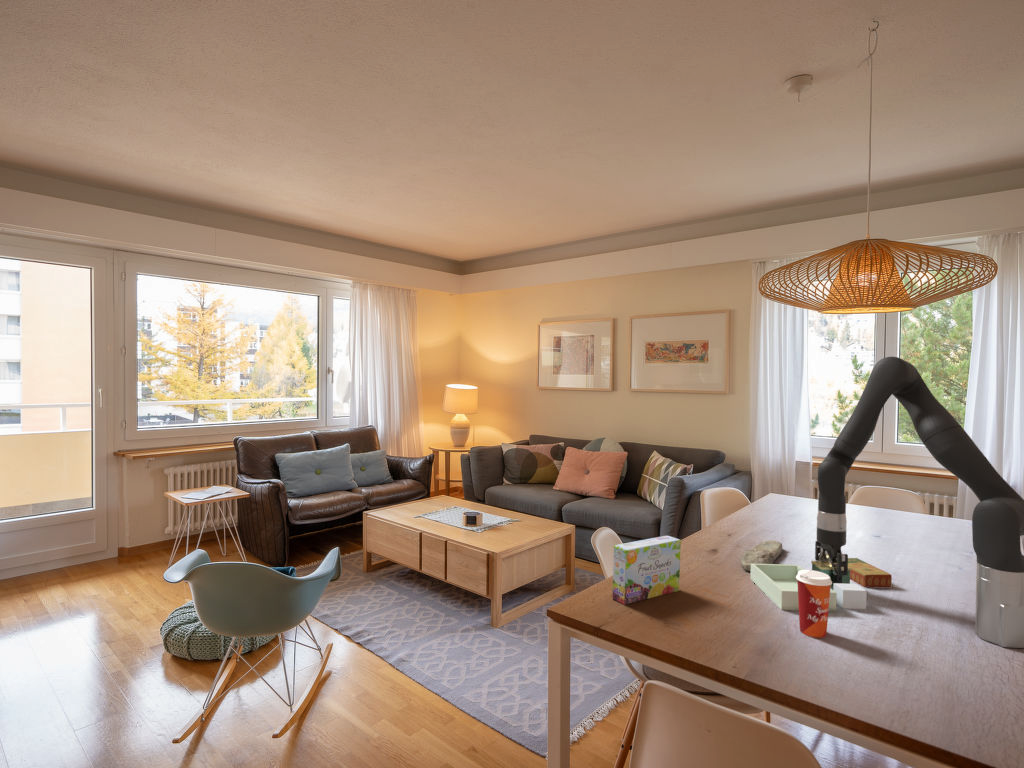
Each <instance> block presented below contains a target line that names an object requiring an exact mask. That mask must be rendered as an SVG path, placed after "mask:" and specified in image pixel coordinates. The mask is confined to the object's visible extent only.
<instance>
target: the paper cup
mask: <svg viewBox="0 0 1024 768" xmlns="http://www.w3.org/2000/svg"><path fill="white" fill-rule="evenodd" d="M796 579H797V583H798V605H799V610H798V619H799V624H798V625H799V631H800V633H802V634H803V635H805V636H808V637H811V638H817V639H823V638H826V637H827V633H828V632H827V631H828V623H829V620H828V619H829V599H830V587H831V584H832V581H831V579H830V577H829V575H827V574H825V573H822V572H819V571H814V570H812V569H805V570H800V571H799V572H798V575H797V576H796Z"/></svg>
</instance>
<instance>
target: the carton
mask: <svg viewBox="0 0 1024 768" xmlns="http://www.w3.org/2000/svg"><path fill="white" fill-rule="evenodd" d="M848 567H850V568H851V570H850V581H853V582H854V583H855V584H857V585H858V586H860V587H862V588H865V587H891V588H892V581H893V580H892V574H891V573H889V572H886V571H885V570H883V569H881V568H879V567H876V566H875V565H872V564H870V563H868V562H866V561H864V560H862V559H860V558H858V557H848Z"/></svg>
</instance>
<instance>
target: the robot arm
mask: <svg viewBox="0 0 1024 768" xmlns="http://www.w3.org/2000/svg"><path fill="white" fill-rule="evenodd" d="M891 396H894V398H896V399H897V401H898V402H899V403H900V404H901V406H902V407H904V409H905V410H906V412H907V414H908V415H909V416H910V420H911V421H912V424H913V427H914V429H915V431H916V434H917V436H918V437H919V439H920V441H921V442H922V443H923V445H924V447H925V448H926V449H927V451H928V452H929V454H931V456H932V457H933V458H934V460H936V461H937V462H938V463H939V464H940V465H941V466H942V467H943V468H945V469H946V470H947V471H949V472H950V473H951V474H952V475H954V476H955V477H956V478H958V479H959V480H960V481H962V482H963V483H964V484H965V485H966V486H967V487H968V488H969V489H970V490H971V491H972V492H973V493H974V494H975V496H976V497H977V499H978V500H979V502H978V503H977V504H976V505H975V507H974V509H973V512H972V516H971V528H972V529H971V532H972V534H971V535H972V546H973V547H972V548H973V551H974V553H975V555H976V569H975V570H976V572H975V574H976V576H975V577H976V578H975V585H976V586H975V625H974V626H975V627H974V629H975V631H974V632H975V635H976V636H978V638H980V639H982V640H984V641H986V642H989V643H992V644H995V645H998V646H1000V647H1002V648H1016V649H1017V648H1018V649H1019V648H1021V649H1024V555H1023V554H1022V549H1021V548H1022V547H1021V537H1022V536H1024V498H1023V497H1022V496H1020V494H1019V493H1018V492H1017V491H1016V490H1015V489H1014V488H1013V487H1012V486H1011V485H1010V484H1009V483H1008V482H1007V481H1006V480H1005V479H1004V478H1003V477H1002V475H1000V473H999V472H998V471H997V470H996V469H995V467H994V466H993V465H992V463H991V462H990V461H989V459H988V458H987V457H986V455H985V454H984V453H983V452H982V450H980V448H979V447H978V445H977V444H976V443H975V441H974V440H973V439H972V437H971V436H970V435H969V434H968V433H967V431H966V430H965V429H964V428H963V426H962V425H961V424H960V423H959V422H958V421H957V420H956V419H955V417H954V416H953V415H952V413H950V412H949V411H948V410H947V408H945V407H944V406H943V405H942V403H940V402H939V400H938V399H937V398H936V397H935V396H934V394H933V393H932V391H931V390H930V388H929V387H928V385H927V384H926V382H925V380H924V379H923V377H922V376H921V374H920V372H919V370H918V369H917V367H916V366H914V365H913V363H910V362H909V361H907V360H905V359H903V358H900V357H897V356H886V357H883V358H881V359H880V360H878V361H877V362H876V363H875V365H874V366H873V368H872V369H871V373H870V375H869V376H868V380H867V381H866V384H865V386H864V389H863V392H862V394H861V396H860V398H859V400H858V402H857V403H856V405H855V408H854V410H853V412H852V414H851V415H850V417H849V419H848V420H847V422H846V423H845V425H844V426H843V428H842V430H841V431H840V433H839V435H838V436H837V438H836V439H835V441H834V443H833V446H832V448H831V449H830V450H829V452H828V454H826V456H825V457H824V459H823V460H822V462H821V463H820V464H819V465H818V468H817V484H818V485H817V486H818V496H817V497H818V502H817V503H818V504H817V515H816V540H815V542H814V543H815V544H814V545H815V546H814V547H815V549H814V552H815V553H814V558H815V559H814V561H828V562H829V566H830V567H831V568H832V570H833V574H834V575H833V583H842V576H843V575H848V558H849V556H848V554H847V553H843V552H842V547H844V546H846V545H847V521H848V520H847V513H846V512H847V511H846V510H847V509H846V508H847V499H846V495H845V489H846V488H845V487H846V486H845V485H846V476H847V475H848V473H849V471H850V469H851V468H852V466H853V464H854V462H855V461H856V459H857V457H859V455H860V454H861V453H862V452H863V450H864V449H865V447H866V446H867V444H868V443H869V441H870V439H871V438H872V436H873V434H874V432H875V430H876V427H877V423H878V420H879V417H880V416H881V412H882V410H883V408H884V406H885V405H886V403H887V401H889V399H890V397H891ZM835 563H837V564H835ZM836 567H837V571H836ZM843 567H844V571H843Z"/></svg>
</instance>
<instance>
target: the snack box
mask: <svg viewBox="0 0 1024 768" xmlns="http://www.w3.org/2000/svg"><path fill="white" fill-rule="evenodd" d="M681 544H682V540H681V539H679V538H677V537H674V536H670V535H663V536H662V535H661V536H657V537H651V538H646V539H640V540H635V541H631V542H626V543H619V544H615V545H613V567H612V570H613V571H612V572H613V573H612V599H613V600H616V601H617V602H619V603H620V604H622V605H624V606H625V605H629V604H632V603H636V602H640V601H644V600H648V599H651V598H655V597H656V598H657V597H659V596H664V595H668V594H672V593H675V592H679V591H680V574H681V573H680V572H681V551H682V549H681V548H682V547H681V546H682V545H681Z"/></svg>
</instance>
